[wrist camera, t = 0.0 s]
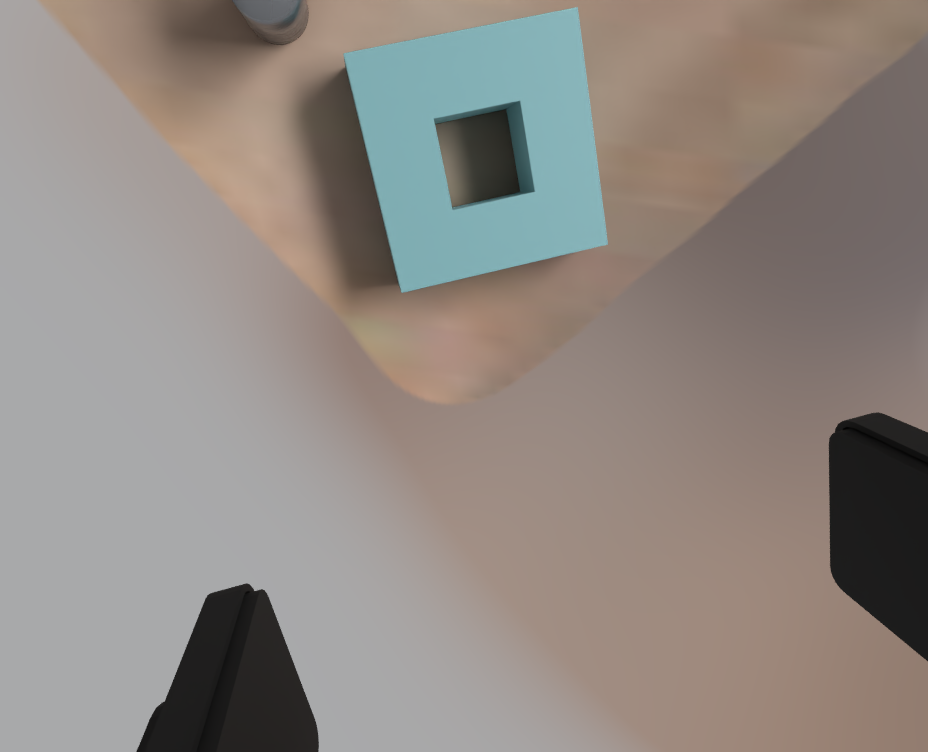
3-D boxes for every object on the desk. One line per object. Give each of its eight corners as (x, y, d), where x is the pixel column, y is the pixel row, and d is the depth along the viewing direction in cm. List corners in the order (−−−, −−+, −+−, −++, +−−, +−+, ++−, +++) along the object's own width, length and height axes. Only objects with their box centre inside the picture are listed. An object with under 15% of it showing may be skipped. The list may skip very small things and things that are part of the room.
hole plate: (345, 67, 35) (343, 53, 31) (558, 24, 36) (577, 7, 32) (398, 284, 39) (401, 292, 35) (587, 240, 40) (607, 244, 37)
